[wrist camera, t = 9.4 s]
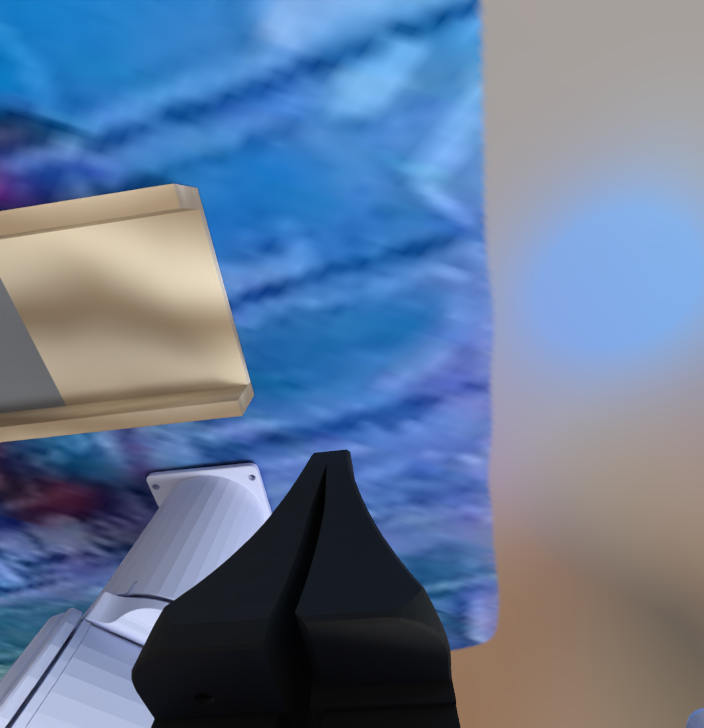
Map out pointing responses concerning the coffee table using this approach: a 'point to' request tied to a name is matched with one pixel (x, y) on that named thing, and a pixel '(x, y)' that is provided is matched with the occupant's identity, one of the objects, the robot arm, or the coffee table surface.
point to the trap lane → (114, 317)
